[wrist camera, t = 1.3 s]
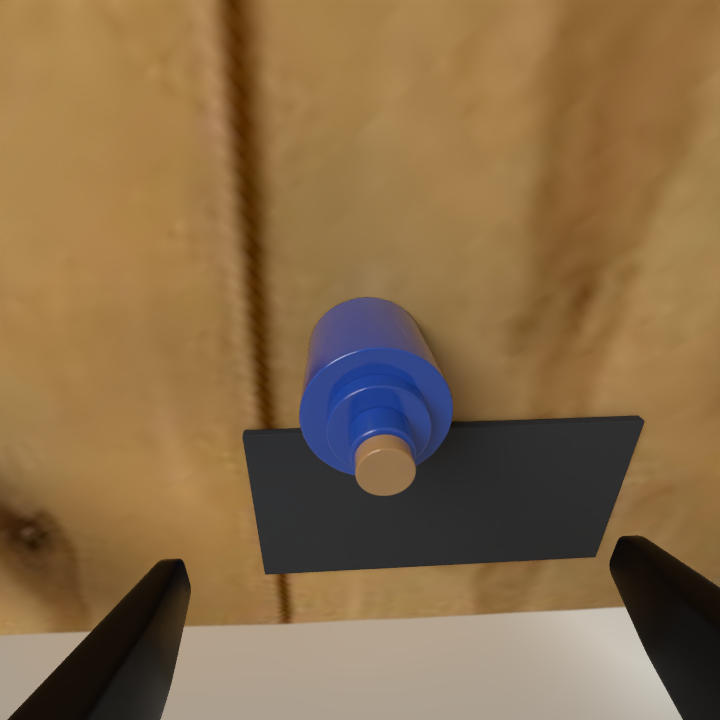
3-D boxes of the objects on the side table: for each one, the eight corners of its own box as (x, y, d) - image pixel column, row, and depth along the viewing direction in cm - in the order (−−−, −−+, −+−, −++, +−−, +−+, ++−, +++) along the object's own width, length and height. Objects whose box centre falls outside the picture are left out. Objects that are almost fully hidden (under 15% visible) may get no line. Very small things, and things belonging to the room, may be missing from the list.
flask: (312, 403, 19) (298, 544, 12) (304, 298, 17) (282, 395, 10) (419, 399, 20) (468, 535, 12) (426, 295, 17) (491, 389, 10)
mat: (266, 567, 24) (264, 575, 24) (244, 429, 20) (242, 435, 19) (591, 550, 25) (595, 557, 25) (638, 415, 21) (645, 420, 20)
